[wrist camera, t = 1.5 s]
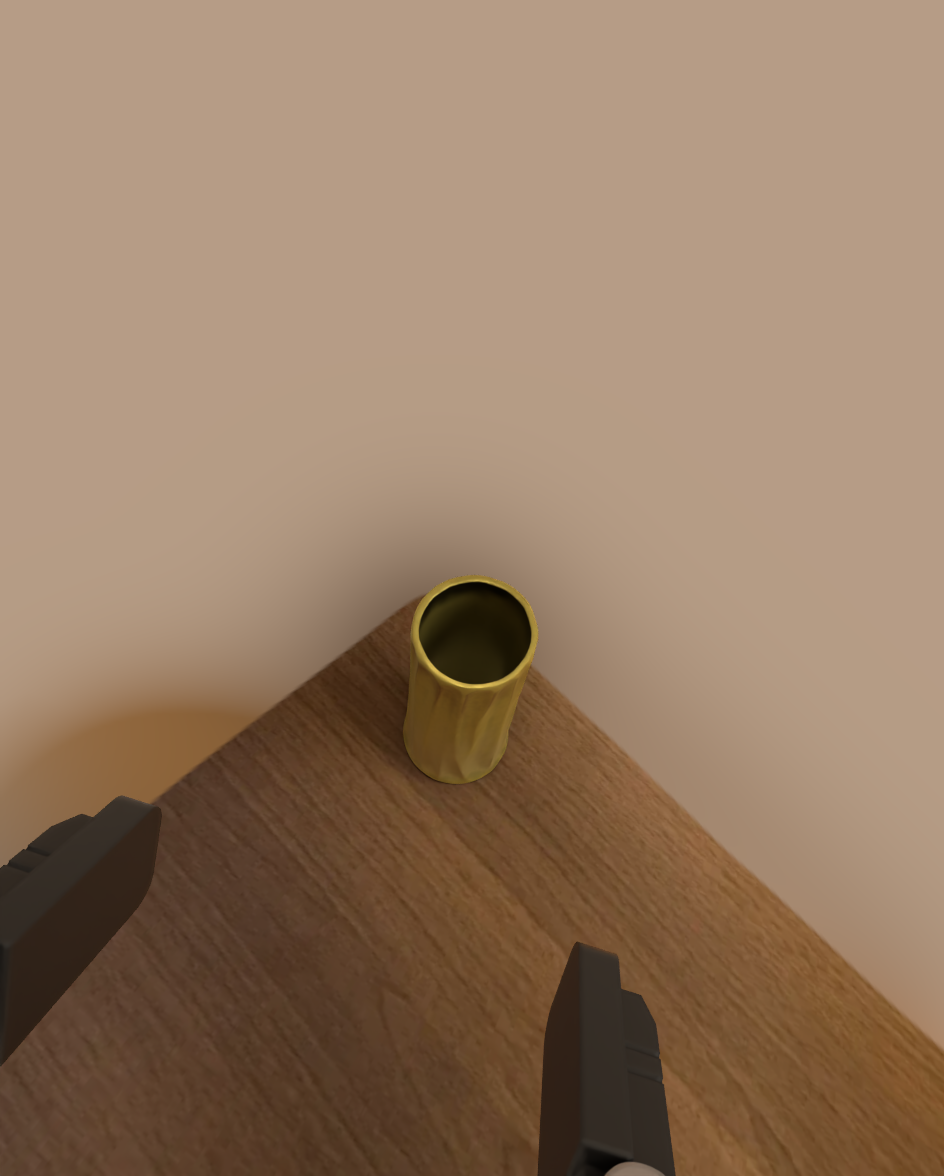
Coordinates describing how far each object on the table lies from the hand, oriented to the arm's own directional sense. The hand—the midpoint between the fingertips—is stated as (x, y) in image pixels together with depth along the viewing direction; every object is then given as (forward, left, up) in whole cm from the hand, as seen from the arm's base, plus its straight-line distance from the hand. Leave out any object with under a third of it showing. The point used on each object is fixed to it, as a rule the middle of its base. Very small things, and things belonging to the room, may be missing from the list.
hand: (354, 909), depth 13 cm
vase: (-8, +9, -26) cm, 29 cm away
